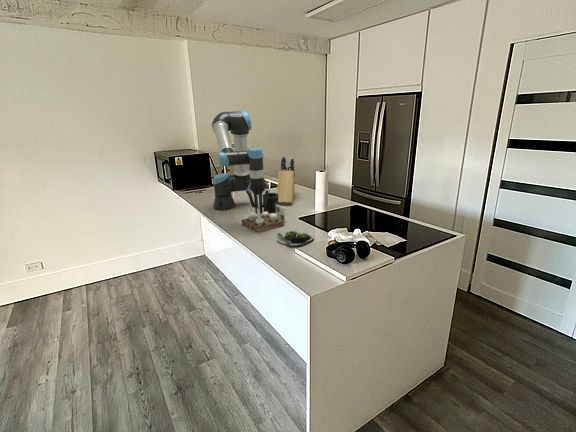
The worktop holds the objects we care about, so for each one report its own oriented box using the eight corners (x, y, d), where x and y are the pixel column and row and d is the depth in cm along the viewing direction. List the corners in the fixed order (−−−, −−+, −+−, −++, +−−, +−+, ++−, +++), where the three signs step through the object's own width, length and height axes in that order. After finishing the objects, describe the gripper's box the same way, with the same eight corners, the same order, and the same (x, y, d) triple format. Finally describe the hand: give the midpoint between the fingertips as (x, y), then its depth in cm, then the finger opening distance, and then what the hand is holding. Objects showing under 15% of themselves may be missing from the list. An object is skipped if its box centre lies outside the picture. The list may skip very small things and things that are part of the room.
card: (276, 218, 194) (275, 204, 191) (280, 217, 196) (280, 203, 193) (284, 222, 187) (284, 208, 184) (289, 221, 189) (288, 206, 186)
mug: (264, 215, 200) (263, 197, 196) (261, 209, 214) (260, 192, 210) (281, 214, 202) (280, 196, 198) (276, 208, 216) (276, 191, 212)
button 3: (260, 220, 189) (259, 212, 188) (266, 218, 192) (265, 211, 190) (263, 221, 186) (263, 214, 185) (270, 220, 188) (269, 212, 187)
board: (241, 224, 185) (241, 219, 184) (267, 218, 195) (267, 213, 194) (257, 233, 171) (257, 227, 170) (284, 225, 181) (283, 220, 180)
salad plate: (266, 241, 161) (266, 232, 160) (290, 231, 174) (290, 223, 172) (294, 251, 149) (294, 242, 147) (318, 239, 161) (318, 231, 159)
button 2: (254, 227, 178) (254, 219, 176) (261, 225, 180) (260, 217, 178) (258, 229, 174) (258, 221, 173) (265, 227, 177) (264, 219, 175)
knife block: (296, 193, 252) (295, 155, 242) (291, 206, 219) (290, 161, 209) (282, 193, 253) (280, 155, 244) (275, 206, 220) (274, 162, 210)
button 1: (246, 221, 184) (246, 213, 183) (253, 219, 187) (252, 212, 185) (250, 223, 181) (249, 215, 179) (257, 221, 183) (256, 214, 182)
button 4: (267, 222, 182) (267, 214, 181) (274, 220, 185) (273, 212, 183) (272, 224, 179) (271, 216, 177) (278, 222, 181) (278, 214, 180)
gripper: (243, 178, 166) (246, 221, 173) (267, 178, 164) (269, 221, 171) (247, 176, 173) (250, 216, 180) (270, 176, 171) (272, 217, 178)
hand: (259, 219), depth 175 cm, fingers closed
